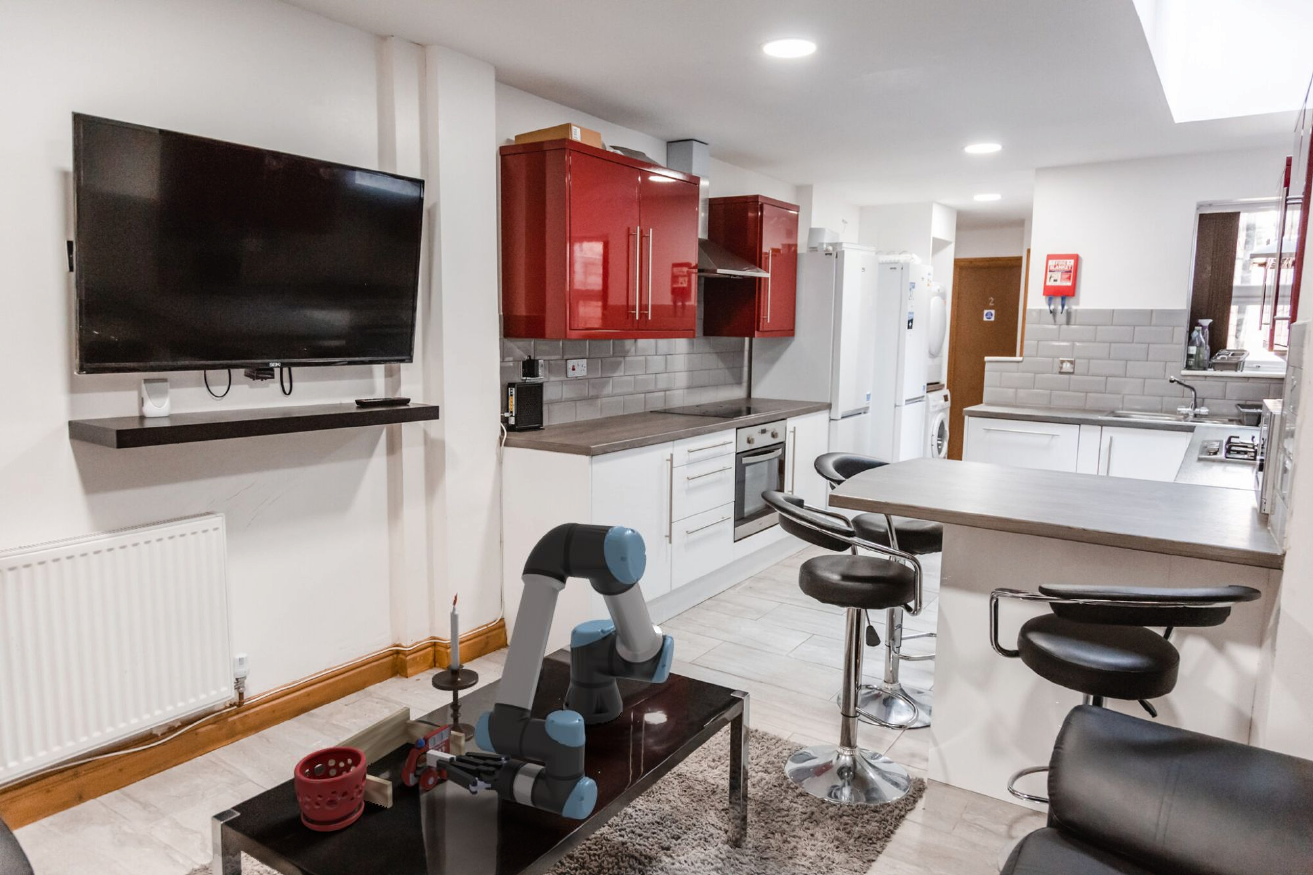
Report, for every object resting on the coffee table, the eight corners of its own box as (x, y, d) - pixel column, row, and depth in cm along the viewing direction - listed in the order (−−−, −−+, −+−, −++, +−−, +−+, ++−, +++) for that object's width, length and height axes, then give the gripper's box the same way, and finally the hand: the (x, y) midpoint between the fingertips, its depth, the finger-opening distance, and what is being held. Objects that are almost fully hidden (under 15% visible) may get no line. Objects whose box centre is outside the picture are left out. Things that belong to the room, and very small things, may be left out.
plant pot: (296, 809, 165) (294, 752, 163) (365, 795, 170) (363, 740, 169) (295, 845, 153) (293, 784, 151) (370, 830, 158) (368, 770, 157)
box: (464, 754, 187) (464, 721, 186) (388, 808, 165) (387, 770, 165) (406, 738, 195) (405, 706, 194) (325, 787, 173) (324, 751, 172)
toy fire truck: (394, 788, 173) (393, 741, 172) (438, 763, 183) (437, 719, 182) (417, 797, 169) (416, 749, 168) (461, 771, 180) (460, 726, 179)
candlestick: (469, 721, 204) (467, 584, 201) (486, 738, 195) (484, 595, 192) (426, 731, 198) (423, 591, 194) (441, 750, 189) (439, 603, 186)
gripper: (503, 816, 158) (408, 788, 168) (540, 784, 170) (449, 760, 180) (503, 779, 157) (407, 753, 167) (540, 750, 169) (448, 727, 179)
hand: (429, 757), depth 173 cm, fingers closed
